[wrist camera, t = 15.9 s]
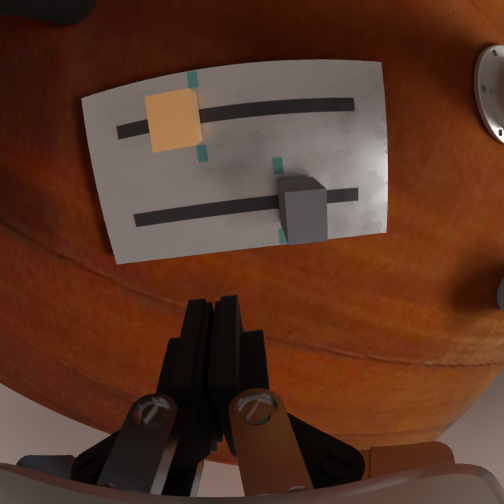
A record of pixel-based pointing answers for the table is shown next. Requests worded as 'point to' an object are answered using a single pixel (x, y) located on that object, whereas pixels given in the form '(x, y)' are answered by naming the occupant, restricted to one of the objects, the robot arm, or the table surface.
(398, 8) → the table surface
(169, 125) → the fader
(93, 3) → the drinking cup
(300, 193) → the fader
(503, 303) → the grey tapered pot
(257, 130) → the console
